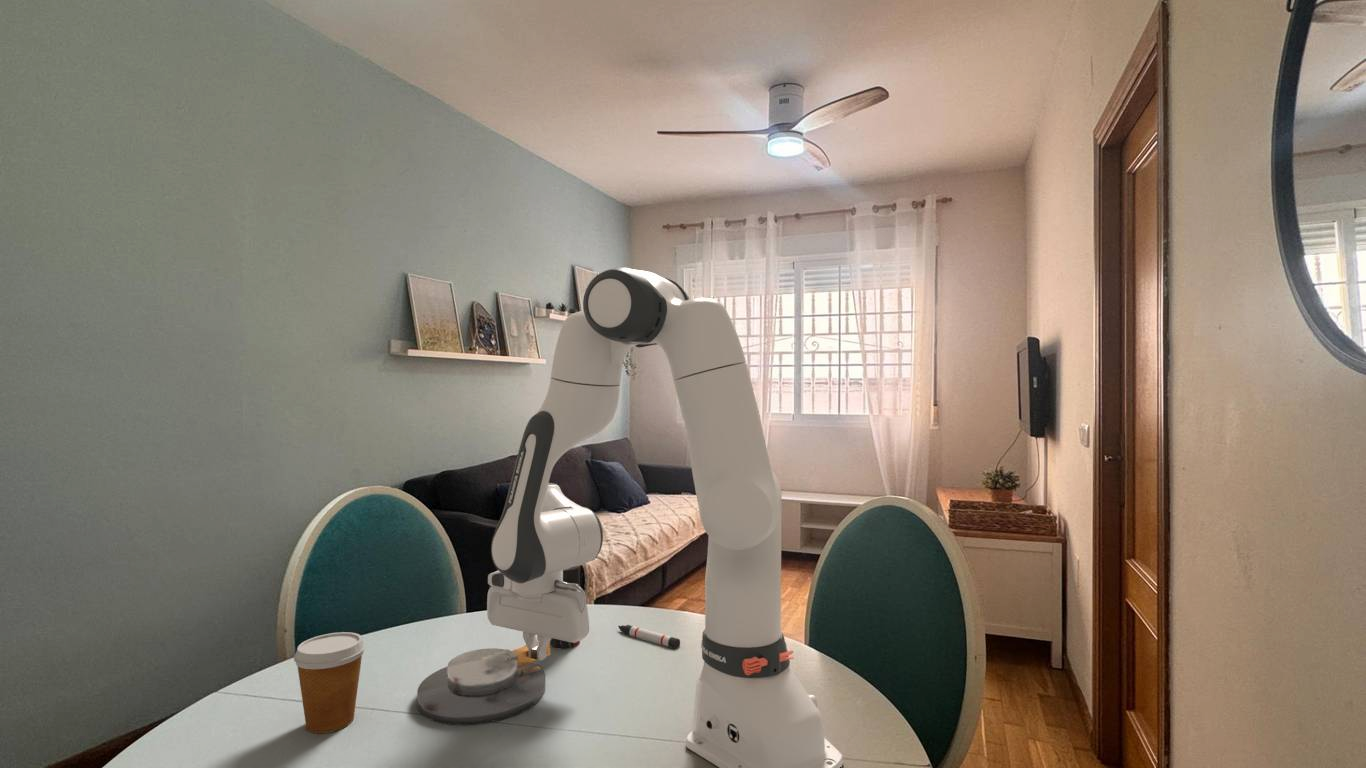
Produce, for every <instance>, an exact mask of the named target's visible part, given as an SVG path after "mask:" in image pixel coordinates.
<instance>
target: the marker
mask: <svg viewBox="0 0 1366 768" xmlns="http://www.w3.org/2000/svg"><path fill="white" fill-rule="evenodd" d="M617 627H618V629H619V631H620V632H622V633H624V635H626V634H627V635H626V636H629V637H633V636H634V637H633V638H636V637H637V639H640V638H641V639H640V640H643V639H644V640H643V641H646V640H647V642H650V641H651V642H650V643H653V642H654V644H657V645H660V644H661V645H660V646H664V647H667V646H668V647H667V648H671V647H672V649H674V648H676V649H678V648H679V647H680V646H681V640H680V638H677V637H673V636H672V635H671V636H670V635H667V634H663V633H659V632H657V631H652V630H648V629H645V628H642V627H639V626H634V625H631V624H626V625H618V626H617ZM677 647H678V648H677Z"/></svg>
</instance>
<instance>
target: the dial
mask: <svg viewBox="0 0 1366 768" xmlns="http://www.w3.org/2000/svg"><path fill="white" fill-rule="evenodd" d="M537 643H538V645H539V643H540V641H538V640H537ZM549 656H551V646H550V642H549V644H548V646H547V647H546V657H549ZM536 661H538V660H537V659H533V658H529V654H528V647H527V645H524V646H521V647H518V648H515V649H513V650H510V649H507V648H506V649H504V648H496V647H495V648H493V647H492V648H491V647H489V648H480V649H479V648H478V649H474V650H470V651H467V652H464V653H461V654H458V655H455V656H454V657H453V658H451V659H450V660H449V662H448V663H447V666H446V667H447V686H448V688H449V689H450V690H451V691H452V692H454V693H457V694H461V695H471V696H473V695H485V694H491V693H495V692H498V691H501V690H503V689H506V688H508V687H509V686H511V685H512V684H514V683H515V682H516V680H517V678H518V668H519V667H521V666H524V665H526V664H529V663H531V662H533V663H535V662H536Z"/></svg>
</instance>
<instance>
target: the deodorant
mask: <svg viewBox="0 0 1366 768" xmlns="http://www.w3.org/2000/svg"><path fill="white" fill-rule="evenodd" d="M580 568H581V565H579V566H575V567H571V568H569V569H566V570H563V582H567V583H575V584H578V585H579V587H580V588H581V585H580V584H581V576H580V575H581V572H580V571H581V570H580ZM579 591H580V590H579ZM580 642H581V640H580V641H578V642H576V643H572V642H567V641H563V640H558V639H554V638H551V640H550V648H551V649H552V648H553V649H558V650H568V649H573V648H574V647H577V646H579V644H580Z"/></svg>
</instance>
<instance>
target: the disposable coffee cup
mask: <svg viewBox="0 0 1366 768" xmlns="http://www.w3.org/2000/svg"><path fill="white" fill-rule="evenodd" d="M366 648H367V647H366V643H365V642H364V640H363V636H362V635H361V634H359V633H356V632H346V631H345V632H344V631H341V632H331V633H326V634H322V635H317V636H314V637H311V638H309V639H306V640H304V641H302V642H301V643H300V644H299V645H298V646H297V648H296V653H295V654H294V655H293V661H294V662H295V665H296V666H297V671H298V672H297V673H298V678H299V679H298V680H299V688H300V693H301V700H302V707H303V714H304V721H305V728H306V731H307V732H309V733H312V734H327V733H328V734H329V733H333V732H335V731H339V730H341V729H344V728H345V727H347V726H349V725H350V724H352V723H353V721H354V718H355V712H356V703H357V695H358V689H359V681H360V673H361V664H362V658H363V654H364V652H365V650H366Z"/></svg>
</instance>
